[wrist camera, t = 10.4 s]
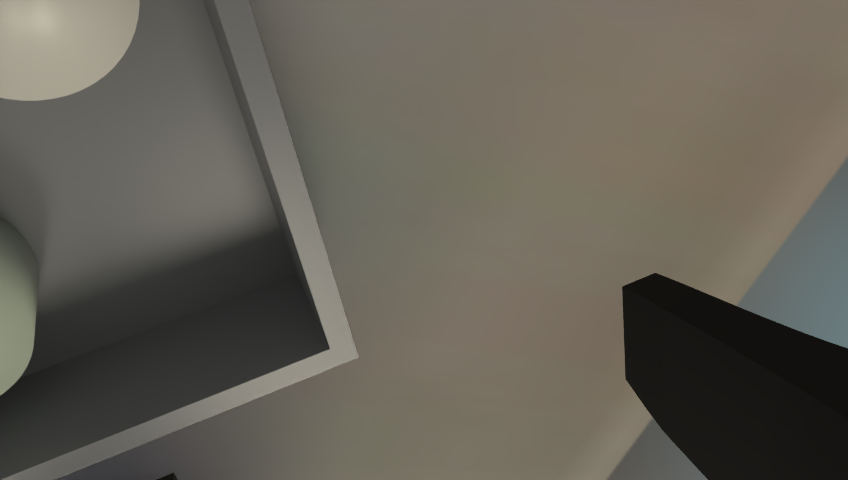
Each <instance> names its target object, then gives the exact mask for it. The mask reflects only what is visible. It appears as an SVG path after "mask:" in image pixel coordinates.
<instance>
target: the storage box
mask: <svg viewBox="0 0 848 480" xmlns="http://www.w3.org/2000/svg"><path fill="white" fill-rule="evenodd" d="M356 358H359V357H358V354H357V351H356V347H355V344H354V341H353V338H352V334H351V331H350V328H349V325H348V321H347V318H346V315H345V311H344V308H343V305H342V302H341V298H340V295H339V292H338V289H337V285H336V282H335V279H334V276H333V272H332V269H331V266H330V263H329V259H328V256H327V253H326V250H325V246H324V243H323V240H322V236H321V233H320V230H319V227H318V223H317V220H316V217H315V214H314V210H313V207H312V204H311V201H310V197H309V194H308V191H307V188H306V184H305V181H304V178H303V174H302V171H301V168H300V165H299V161H298V158H297V155H296V152H295V148H294V145H293V142H292V139H291V135H290V132H289V129H288V126H287V122H286V119H285V116H284V112H283V109H282V106H281V103H280V99H279V96H278V93H277V90H276V86H275V83H274V80H273V77H272V73H271V70H270V67H269V64H268V60H267V57H266V54H265V50H264V47H263V44H262V41H261V37H260V34H259V31H258V28H257V24H256V21H255V18H254V15H253V11H252V8H251V5H250V2H249V0H0V480H56V479H59V478H61V477H64V476H66V475H69V474H71V473H73V472H76V471H78V470H81V469H83V468H86V467H88V466H91V465H93V464H96V463H98V462H101V461H103V460H106V459H108V458H111V457H113V456H116V455H118V454H121V453H123V452H126V451H128V450H131V449H133V448H136V447H138V446H140V445H143V444H145V443H148V442H150V441H153V440H155V439H158V438H160V437H163V436H165V435H168V434H170V433H173V432H175V431H178V430H180V429H183V428H185V427H188V426H190V425H193V424H195V423H198V422H200V421H203V420H205V419H207V418H210V417H212V416H215V415H217V414H220V413H222V412H225V411H227V410H230V409H232V408H235V407H237V406H240V405H242V404H245V403H247V402H250V401H252V400H255V399H257V398H260V397H262V396H265V395H267V394H270V393H272V392H274V391H277V390H279V389H282V388H284V387H287V386H289V385H292V384H294V383H297V382H299V381H302V380H304V379H307V378H309V377H312V376H314V375H317V374H319V373H322V372H324V371H327V370H329V369H332V368H334V367H337V366H339V365H341V364H344V363H346V362H349V361H351V360H354V359H356Z"/></svg>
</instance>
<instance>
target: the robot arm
mask: <svg viewBox="0 0 848 480" xmlns="http://www.w3.org/2000/svg"><path fill="white" fill-rule="evenodd" d="M622 291H623V319H624V347H625V375H626V380H627V381H628V383H629V384H630V386H631V387H632V389H633V390H634V391H635V393H636V394H637V396H638V397H639V399H640V400H641V402H642V403H643V404H644V406H645V407H646V409H647V410H648V411H649V413H650V414H651V415H652V417H653V418H654V419H655V420H656V422H657V423H658V425H659V426H660V427H661V429H662V430H663V431H664V432H665V433H666V434H667V435H668V437H669V438H670V439H671V440H672V441H673V442H674V443H675V444H676V445H677V447H678V448H680V450H681V451H682V452H683V453H684V454H685V455H686V456H687V457H688V459H689V460H690V461H691V462H692V463H693V464H694V465H695V466H696V467H697V468H698V469H699V470H700V471H701V473H702V474H703V475H705V477H706V478H707V479H708V480H848V349H847V348H845V347H841V346H839V345H836V344H833V343H830V342H827V341H824V340H822V339H819V338H816V337H813V336H810V335H808V334H805V333H803V332H800V331H797V330H795V329H792V328H789V327H787V326H784V325H782V324H779V323H776V322H774V321H772V320H769V319H767V318H764V317H761V316H759V315H757V314H754V313H752V312H749V311H747V310H744V309H742V308H740V307H737V306H735V305H732V304H730V303H728V302H725V301H723V300H720V299H718V298H716V297H713V296H711V295H708V294H706V293H704V292H701V291H699V290H697V289H694V288H692V287H689V286H687V285H684V284H682V283H680V282H677V281H675V280H672V279H670V278H667V277H665V276H662V275H659V274H657V273H654V274H652V275H649V276H647V277H644V278H642V279H639V280H637V281H635V282H632V283H630V284H627V285H625V286H623V287H622ZM157 480H177V478H176V476H175V474H174V473H171V474H169V475H167V476H164V477H162V478H159V479H157Z"/></svg>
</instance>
